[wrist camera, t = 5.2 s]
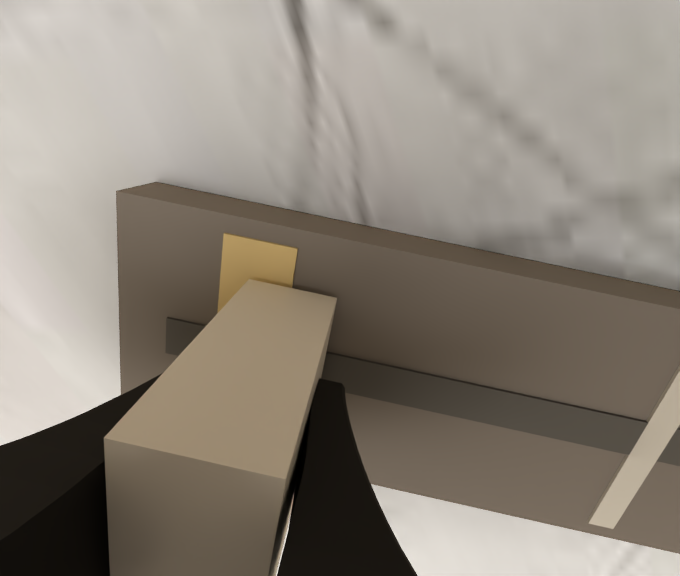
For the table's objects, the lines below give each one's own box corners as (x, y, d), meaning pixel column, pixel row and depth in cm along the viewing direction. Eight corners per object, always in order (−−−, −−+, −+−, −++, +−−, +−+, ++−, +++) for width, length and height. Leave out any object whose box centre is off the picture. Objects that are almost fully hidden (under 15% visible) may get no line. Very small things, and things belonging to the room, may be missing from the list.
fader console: (807, 318, 12) (889, 354, 10) (674, 508, 15) (717, 564, 13) (155, 182, 13) (113, 191, 11) (153, 392, 16) (120, 429, 14)
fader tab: (336, 297, 11) (286, 478, 5) (308, 442, 13) (247, 690, 7) (248, 278, 11) (104, 438, 5) (232, 426, 13) (113, 658, 7)
